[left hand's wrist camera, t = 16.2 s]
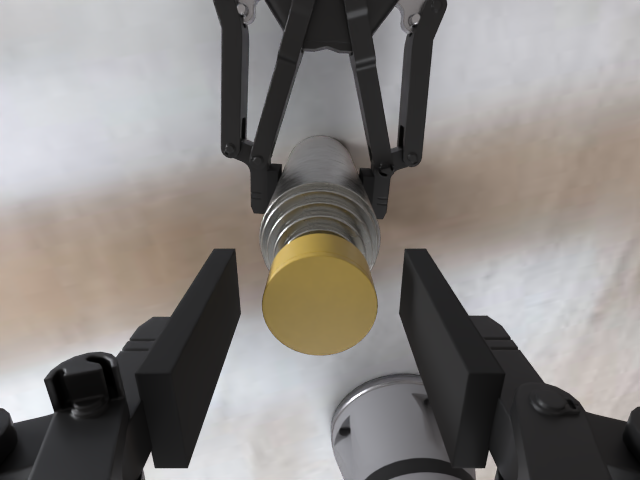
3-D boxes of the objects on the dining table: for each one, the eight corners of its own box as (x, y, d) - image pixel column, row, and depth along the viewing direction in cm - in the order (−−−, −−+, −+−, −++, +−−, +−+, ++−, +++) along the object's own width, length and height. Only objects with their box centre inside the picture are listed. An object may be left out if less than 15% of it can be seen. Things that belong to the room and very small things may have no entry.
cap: (273, 324, 15) (267, 357, 14) (264, 234, 14) (256, 258, 12) (370, 321, 15) (377, 353, 14) (370, 230, 14) (378, 253, 12)
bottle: (288, 133, 32) (235, 216, 12) (356, 138, 33) (415, 227, 12) (285, 199, 34) (237, 363, 14) (349, 203, 35) (391, 372, 14)
